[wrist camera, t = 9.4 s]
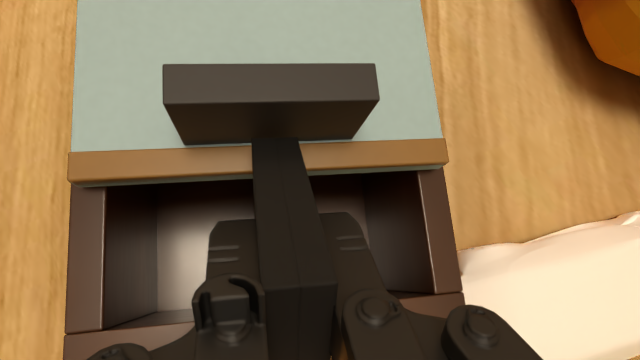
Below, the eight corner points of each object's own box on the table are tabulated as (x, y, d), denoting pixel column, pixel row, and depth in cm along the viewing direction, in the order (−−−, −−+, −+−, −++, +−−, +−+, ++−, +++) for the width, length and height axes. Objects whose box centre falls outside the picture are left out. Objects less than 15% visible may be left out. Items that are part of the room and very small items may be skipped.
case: (137, 336, 22) (61, 375, 13) (140, 31, 26) (82, -96, 17) (391, 308, 24) (469, 324, 15) (357, 33, 28) (404, -76, 19)
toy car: (650, 206, 28) (722, 193, 24) (694, 322, 27) (780, 331, 23) (411, 261, 25) (444, 257, 21) (446, 399, 23) (491, 426, 19)
